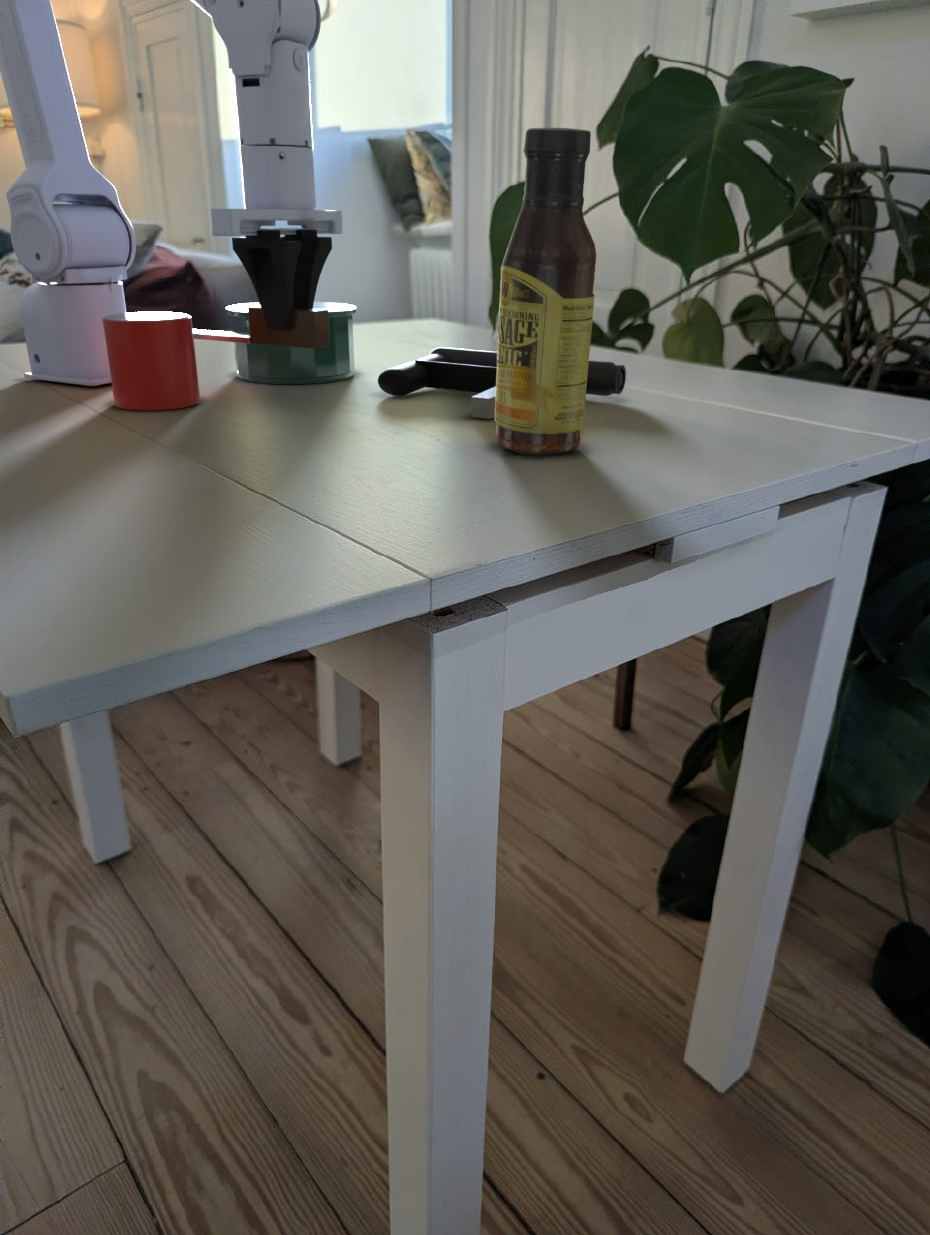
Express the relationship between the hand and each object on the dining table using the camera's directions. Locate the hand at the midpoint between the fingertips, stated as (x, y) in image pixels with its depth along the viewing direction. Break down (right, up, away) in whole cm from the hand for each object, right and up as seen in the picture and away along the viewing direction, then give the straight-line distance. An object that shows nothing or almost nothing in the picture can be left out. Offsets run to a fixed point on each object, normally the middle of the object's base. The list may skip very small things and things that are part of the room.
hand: (288, 327), depth 77 cm
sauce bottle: (+20, -13, -13) cm, 27 cm away
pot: (-2, 0, +15) cm, 15 cm away
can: (-11, -6, +1) cm, 13 cm away
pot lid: (-2, +5, +12) cm, 14 cm away
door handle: (+17, -5, +4) cm, 19 cm away
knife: (-4, 0, +2) cm, 5 cm away
